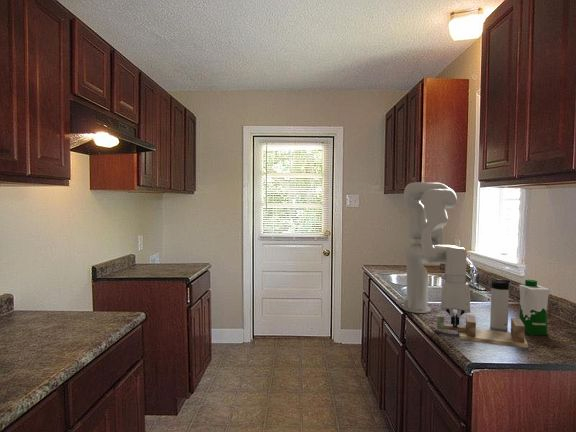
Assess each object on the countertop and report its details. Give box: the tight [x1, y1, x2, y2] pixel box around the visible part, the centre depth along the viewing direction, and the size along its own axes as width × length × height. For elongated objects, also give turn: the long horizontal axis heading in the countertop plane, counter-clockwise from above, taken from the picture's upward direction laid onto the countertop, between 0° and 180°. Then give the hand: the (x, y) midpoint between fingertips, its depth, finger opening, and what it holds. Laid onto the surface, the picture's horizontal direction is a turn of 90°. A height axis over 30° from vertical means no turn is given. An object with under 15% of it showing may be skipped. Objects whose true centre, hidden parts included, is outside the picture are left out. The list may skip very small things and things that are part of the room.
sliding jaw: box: [436, 312, 477, 336], centre depth 152 cm, size 13×10×5 cm
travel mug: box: [489, 279, 511, 332], centre depth 157 cm, size 6×7×20 cm
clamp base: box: [458, 317, 529, 349], centre depth 147 cm, size 22×12×7 cm, turn 67°
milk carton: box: [518, 279, 551, 336], centre depth 155 cm, size 9×9×20 cm
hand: (455, 326), depth 151 cm, fingers closed
